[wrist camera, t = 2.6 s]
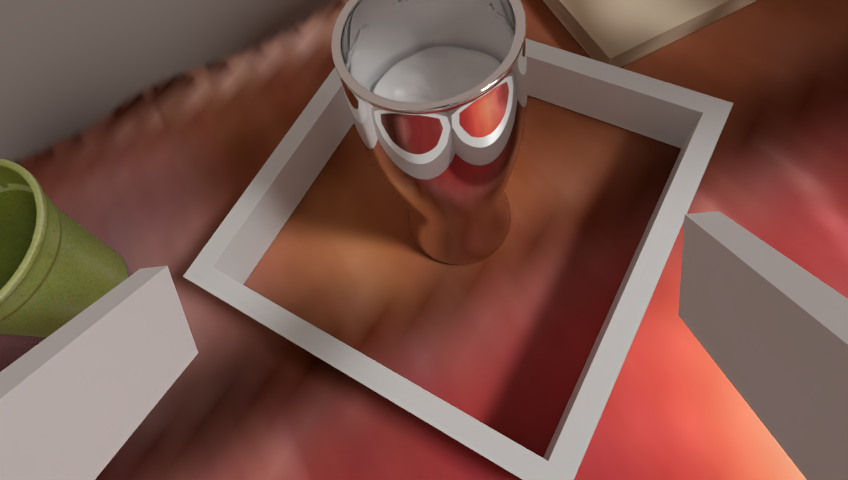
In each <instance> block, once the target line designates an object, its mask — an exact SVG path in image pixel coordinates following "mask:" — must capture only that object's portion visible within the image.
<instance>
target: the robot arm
mask: <svg viewBox="0 0 848 480" xmlns="http://www.w3.org/2000/svg"><path fill="white" fill-rule="evenodd" d="M679 316H680V318H681V319H682V320H683V322H684V323H685V324H686V325H687V327H688V328H689V329H690V330H691V332H692V333H693V334H694V336H695V337H696V338H697V339H698V341H699V342H700V343H701V345H702V346H703V347H704V348H705V350H706V351H707V352H708V354H709V355H710V356H711V357H712V359H713V360H714V361H715V362H716V364H717V365H718V366H719V368H720V369H721V370H722V371H723V373H724V374H725V375H726V377H727V378H728V379H729V380H730V382H731V383H732V384H733V386H734V387H735V388H736V389H737V391H738V392H739V393H740V394H741V396H742V397H743V398H744V400H745V401H746V402H747V403H748V405H749V406H750V407H751V409H752V410H753V411H754V412H755V414H756V415H757V416H758V418H759V419H760V420H761V421H762V423H763V424H764V425H765V426H766V428H767V429H768V430H769V432H770V433H771V434H772V435H773V437H774V438H775V439H776V441H777V442H778V443H779V444H780V446H781V447H782V448H783V450H784V451H785V452H786V453H787V455H788V456H789V457H790V458H791V460H792V461H793V462H794V464H795V465H796V466H797V467H798V469H799V470H800V471H801V473H802V474H803V475H804V476H805V478H806V479H807V480H848V299H847V298H846V297H844V296H843V295H841V294H840V293H838V292H837V291H835V290H834V289H833V288H831V287H830V286H828V285H827V284H825V283H824V282H822V281H821V280H819V279H818V278H816V277H815V276H813V275H812V274H810V273H809V272H808V271H806V270H805V269H803V268H802V267H800V266H799V265H797V264H796V263H794V262H793V261H791V260H790V259H788V258H787V257H786V256H784V255H783V254H781V253H780V252H778V251H777V250H775V249H774V248H772V247H771V246H769V245H768V244H766V243H765V242H764V241H762V240H761V239H759V238H758V237H756V236H755V235H753V234H752V233H750V232H749V231H747V230H746V229H744V228H743V227H742V226H740V225H739V224H737V223H736V222H734V221H733V220H731V219H730V218H728V217H727V216H725V215H724V214H722V213H721V212H720V211H714V212H704V213H694V214H685V219H684V235H683V251H682V267H681V283H680V299H679ZM197 354H198V351H197V348H196V345H195V342H194V340H193V337H192V334H191V331H190V328H189V325H188V323H187V320H186V317H185V314H184V311H183V308H182V306H181V303H180V300H179V297H178V294H177V292H176V289H175V286H174V283H173V280H172V277H171V275H170V272H169V269H168V266H161V267H150V268H141V269H139V270H138V271H137V272H135V273H134V274H132V275H131V276H130V277H128V278H127V279H126V280H124V281H123V282H122V283H120V284H119V285H118V286H116V287H115V288H113V289H112V290H111V291H109V292H108V293H107V294H105V295H104V296H103V297H101V298H100V299H99V300H97V301H96V302H94V303H93V304H92V305H90V306H89V307H88V308H86V309H85V310H84V311H82V312H81V313H80V314H78V315H77V316H76V317H74V318H73V319H71V320H70V321H69V322H67V323H66V324H65V325H63V326H62V327H61V328H59V329H58V330H57V331H55V332H54V333H52V334H51V335H50V336H48V337H47V338H46V339H44V340H43V341H42V342H40V343H39V344H38V345H36V346H35V347H33V348H32V349H31V350H29V351H28V352H27V353H25V354H24V355H23V356H21V357H20V358H19V359H17V360H16V361H15V362H13V363H12V364H10V365H9V366H8V367H6V368H5V369H4V370H2V371H1V372H0V480H95V479H96V478H97V476H98V475H99V474H100V473H101V471H102V470H103V469H104V468H105V467H106V465H107V464H108V463H109V462H110V460H111V459H112V458H113V457H114V456H115V454H116V453H117V452H118V451H119V449H120V448H121V447H122V446H123V445H124V443H125V442H126V441H127V440H128V438H129V437H130V436H131V435H132V434H133V432H134V431H135V430H136V429H137V427H138V426H139V425H140V424H141V422H142V421H143V420H144V419H145V418H146V416H147V415H148V414H149V413H150V411H151V410H152V409H153V408H154V407H155V405H156V404H157V403H158V402H159V400H160V399H161V398H162V397H163V396H164V394H165V393H166V392H167V391H168V389H169V388H170V387H171V386H172V384H173V383H174V382H175V381H176V380H177V378H178V377H179V376H180V375H181V373H182V372H183V371H184V370H185V369H186V367H187V366H188V365H189V364H190V362H191V361H192V360H193V359H194V358H195V356H196V355H197Z"/></svg>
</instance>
